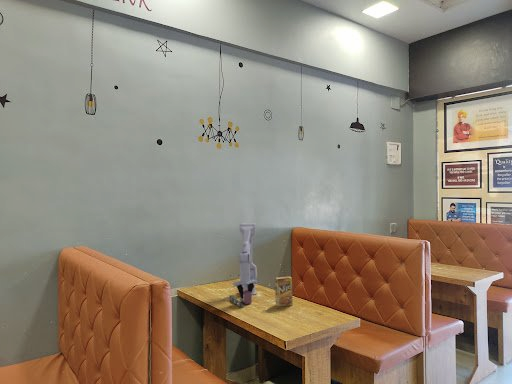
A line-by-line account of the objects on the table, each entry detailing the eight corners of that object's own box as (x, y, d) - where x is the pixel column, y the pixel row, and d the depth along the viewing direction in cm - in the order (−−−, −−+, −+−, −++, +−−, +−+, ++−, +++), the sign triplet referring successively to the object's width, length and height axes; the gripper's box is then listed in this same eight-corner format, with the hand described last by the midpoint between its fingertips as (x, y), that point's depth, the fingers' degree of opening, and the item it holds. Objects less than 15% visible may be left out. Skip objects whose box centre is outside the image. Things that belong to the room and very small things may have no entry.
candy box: (277, 307, 197) (277, 278, 197) (275, 304, 201) (274, 277, 201) (292, 305, 200) (292, 277, 200) (290, 303, 204) (289, 275, 204)
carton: (244, 304, 202) (244, 293, 202) (239, 300, 209) (239, 290, 209) (251, 302, 203) (251, 292, 204) (246, 299, 211) (246, 289, 211)
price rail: (229, 299, 213) (229, 295, 213) (231, 299, 213) (231, 295, 213) (240, 308, 196) (240, 303, 196) (242, 307, 197) (242, 303, 197)
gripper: (235, 276, 200) (236, 301, 200) (259, 273, 206) (260, 297, 205) (231, 274, 206) (231, 297, 206) (254, 271, 212) (255, 294, 212)
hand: (245, 297), depth 206 cm, fingers closed on carton, 4 cm apart
